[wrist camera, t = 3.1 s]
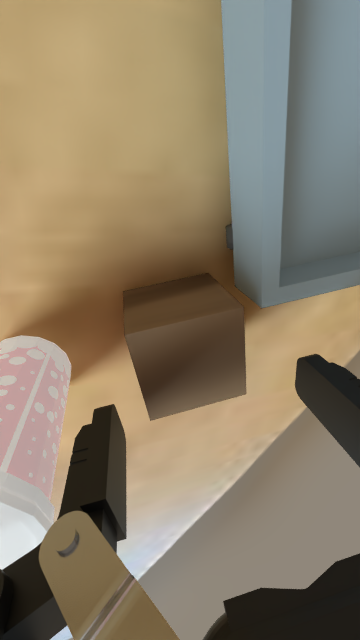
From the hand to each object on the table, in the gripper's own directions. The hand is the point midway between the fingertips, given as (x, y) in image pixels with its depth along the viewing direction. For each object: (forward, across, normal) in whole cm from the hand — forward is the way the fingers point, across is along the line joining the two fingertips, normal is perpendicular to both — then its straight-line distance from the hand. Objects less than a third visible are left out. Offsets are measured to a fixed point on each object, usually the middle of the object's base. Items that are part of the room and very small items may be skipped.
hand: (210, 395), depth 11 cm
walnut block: (+6, 0, -1) cm, 6 cm away
